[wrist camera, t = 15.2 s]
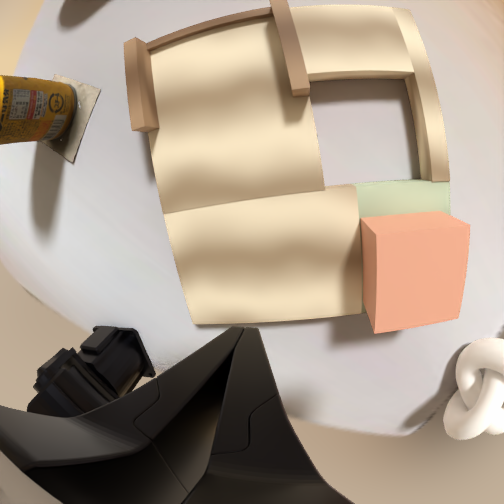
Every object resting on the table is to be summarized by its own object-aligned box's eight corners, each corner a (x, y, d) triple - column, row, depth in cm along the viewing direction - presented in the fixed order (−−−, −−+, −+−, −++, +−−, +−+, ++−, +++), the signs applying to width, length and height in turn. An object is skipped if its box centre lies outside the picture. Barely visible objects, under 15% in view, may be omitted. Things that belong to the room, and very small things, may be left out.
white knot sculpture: (529, 321, 17) (566, 365, 9) (481, 397, 22) (503, 445, 13) (475, 313, 19) (521, 371, 10) (421, 400, 23) (439, 462, 14)
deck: (434, 289, 19) (444, 300, 17) (200, 312, 23) (192, 324, 21) (401, 20, 12) (409, 9, 10) (151, 57, 16) (138, 50, 15)
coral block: (435, 290, 17) (458, 318, 13) (362, 301, 18) (374, 333, 14) (440, 210, 15) (470, 225, 11) (360, 217, 16) (376, 234, 13)
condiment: (56, 74, 18) (-34, 66, 7) (101, 89, 18) (-10, 74, 7) (34, 136, 21) (-53, 148, 9) (74, 162, 21) (-32, 183, 10)
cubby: (309, 95, 14) (310, 87, 12) (147, 132, 17) (131, 130, 15) (286, 8, 12) (284, -7, 10) (138, 50, 15) (123, 43, 13)
